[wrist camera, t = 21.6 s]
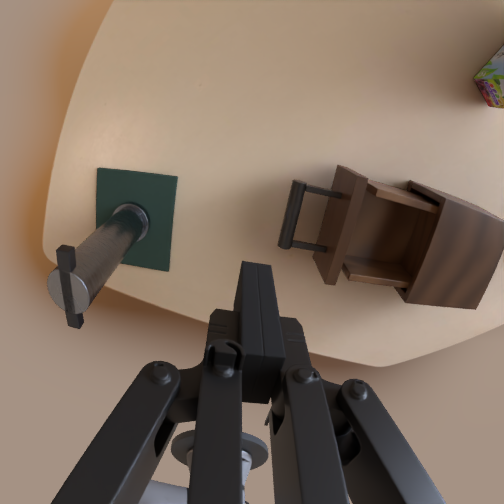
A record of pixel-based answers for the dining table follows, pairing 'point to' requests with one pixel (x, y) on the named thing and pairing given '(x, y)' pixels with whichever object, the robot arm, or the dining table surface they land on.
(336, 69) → the dining table surface
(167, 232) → the mat
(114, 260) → the silver cylinder
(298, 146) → the dining table surface
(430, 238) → the cabinet
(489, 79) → the snack box
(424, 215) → the drawer
